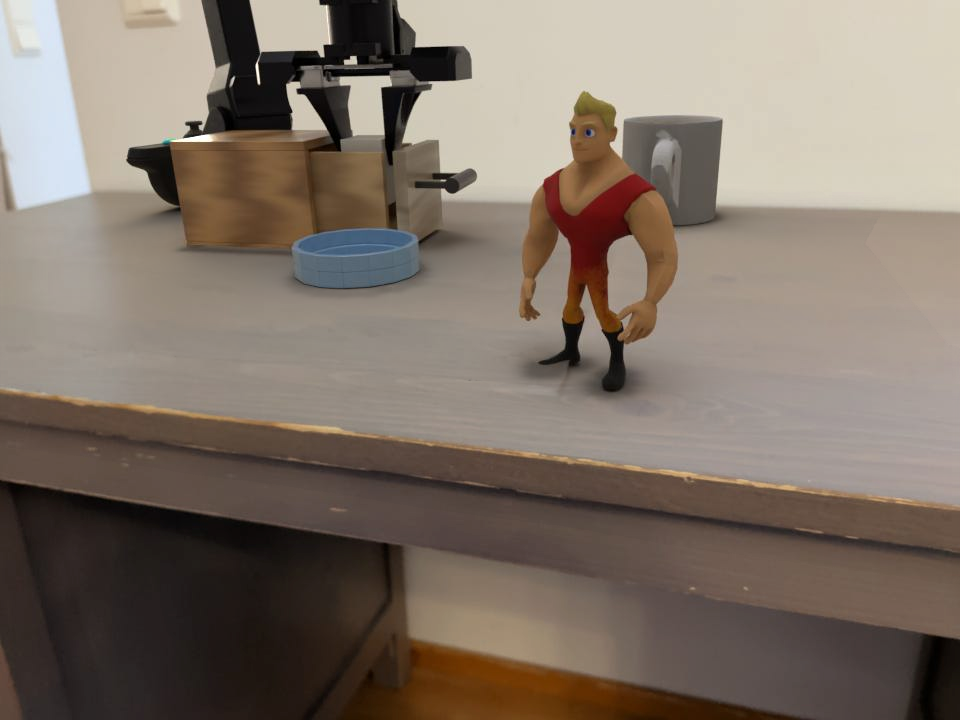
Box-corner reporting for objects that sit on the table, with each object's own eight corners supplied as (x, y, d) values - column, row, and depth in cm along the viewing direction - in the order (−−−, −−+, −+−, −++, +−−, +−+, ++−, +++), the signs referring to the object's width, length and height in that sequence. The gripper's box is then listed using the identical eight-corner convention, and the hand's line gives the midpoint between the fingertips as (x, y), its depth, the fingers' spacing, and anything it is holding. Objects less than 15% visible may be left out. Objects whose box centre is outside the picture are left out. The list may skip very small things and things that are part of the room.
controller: (234, 200, 101) (222, 119, 97) (156, 217, 91) (139, 129, 87) (210, 198, 103) (198, 119, 99) (131, 215, 93) (114, 128, 89)
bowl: (329, 259, 70) (326, 226, 69) (435, 264, 67) (433, 229, 66) (273, 291, 61) (269, 253, 60) (394, 297, 58) (391, 258, 57)
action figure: (499, 364, 45) (494, 91, 40) (536, 347, 48) (536, 88, 42) (644, 406, 39) (661, 93, 34) (677, 384, 42) (699, 89, 36)
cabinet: (361, 230, 81) (352, 129, 78) (315, 254, 72) (303, 141, 68) (245, 226, 85) (231, 130, 81) (187, 249, 75) (169, 141, 72)
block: (346, 205, 73) (340, 139, 71) (362, 198, 76) (357, 135, 74) (385, 206, 72) (381, 139, 70) (401, 199, 76) (396, 134, 73)
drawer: (483, 226, 77) (480, 139, 74) (455, 248, 69) (452, 151, 66) (328, 221, 81) (320, 139, 78) (285, 242, 73) (274, 151, 70)
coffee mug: (638, 204, 90) (642, 114, 86) (725, 211, 85) (733, 115, 82) (593, 227, 79) (595, 125, 76) (689, 235, 75) (697, 127, 71)
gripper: (485, -19, 72) (489, 154, 78) (302, -9, 77) (318, 153, 82) (450, -29, 62) (457, 170, 68) (242, -18, 67) (265, 168, 72)
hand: (371, 164), depth 73 cm, fingers closed on block, 4 cm apart
